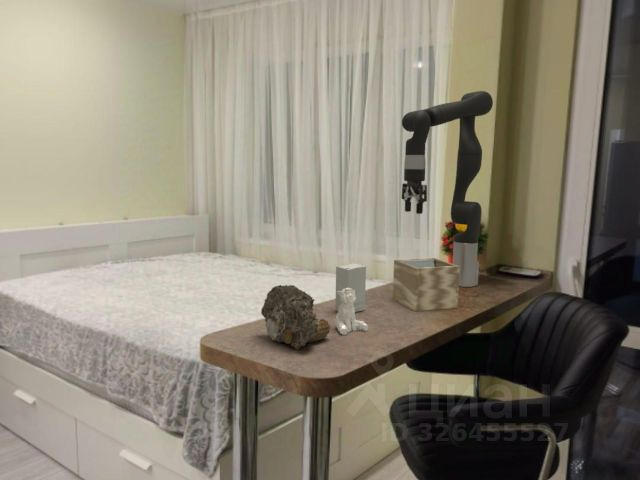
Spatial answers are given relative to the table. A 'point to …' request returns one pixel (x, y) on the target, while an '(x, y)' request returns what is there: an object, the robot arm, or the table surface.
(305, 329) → the rock
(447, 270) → the hatch box
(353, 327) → the seated beast figurine
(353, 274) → the skincare box
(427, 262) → the hatch door
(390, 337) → the table surface
